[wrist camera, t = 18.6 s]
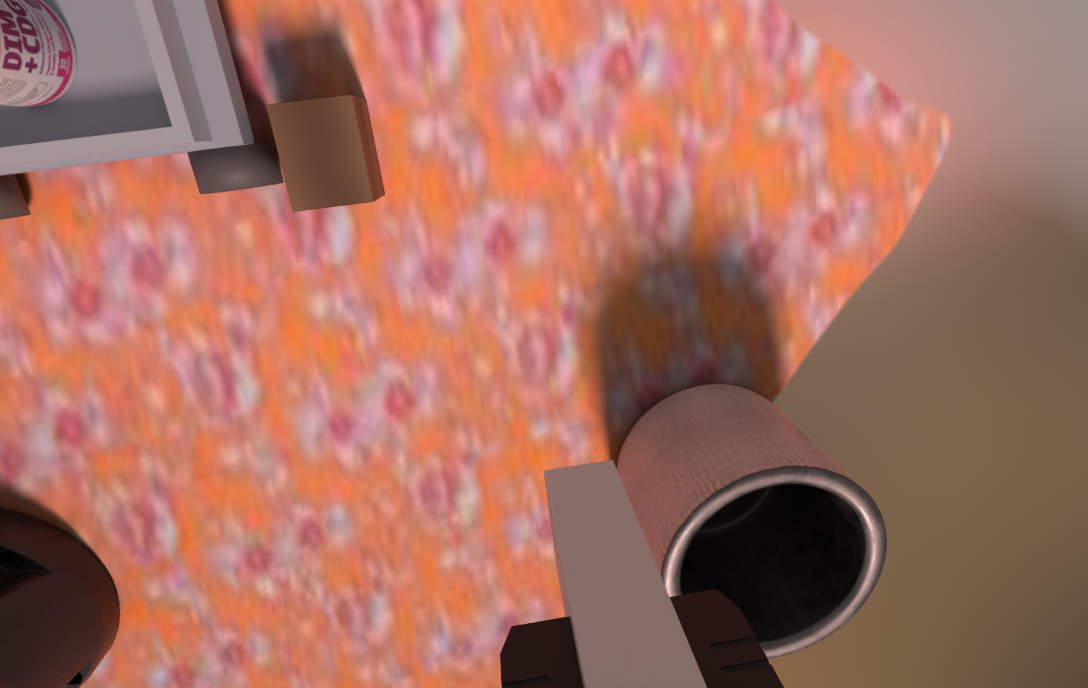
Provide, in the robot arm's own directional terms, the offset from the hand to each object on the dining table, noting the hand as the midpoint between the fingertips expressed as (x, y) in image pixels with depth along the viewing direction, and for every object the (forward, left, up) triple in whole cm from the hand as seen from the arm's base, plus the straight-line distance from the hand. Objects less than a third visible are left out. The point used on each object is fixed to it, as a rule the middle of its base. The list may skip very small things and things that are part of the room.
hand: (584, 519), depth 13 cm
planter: (+11, -15, -25) cm, 31 cm away
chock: (-9, +8, -25) cm, 27 cm away
